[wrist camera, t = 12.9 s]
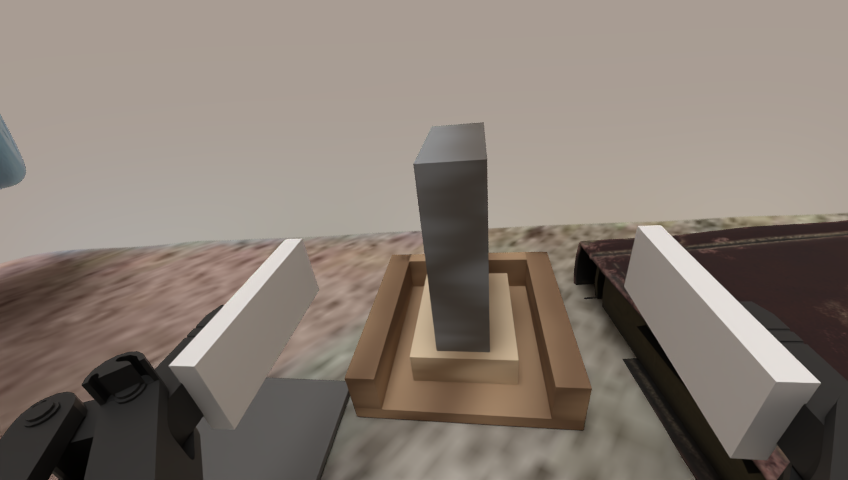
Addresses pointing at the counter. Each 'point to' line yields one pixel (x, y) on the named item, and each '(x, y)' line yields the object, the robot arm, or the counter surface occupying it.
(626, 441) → the counter surface
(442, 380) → the grey tall block
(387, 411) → the tray
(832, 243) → the diary
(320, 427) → the mat
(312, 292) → the robot arm
